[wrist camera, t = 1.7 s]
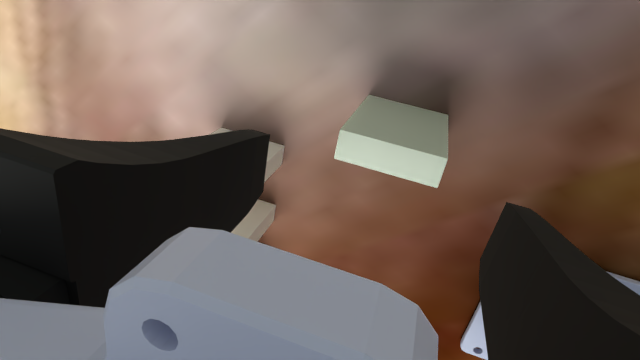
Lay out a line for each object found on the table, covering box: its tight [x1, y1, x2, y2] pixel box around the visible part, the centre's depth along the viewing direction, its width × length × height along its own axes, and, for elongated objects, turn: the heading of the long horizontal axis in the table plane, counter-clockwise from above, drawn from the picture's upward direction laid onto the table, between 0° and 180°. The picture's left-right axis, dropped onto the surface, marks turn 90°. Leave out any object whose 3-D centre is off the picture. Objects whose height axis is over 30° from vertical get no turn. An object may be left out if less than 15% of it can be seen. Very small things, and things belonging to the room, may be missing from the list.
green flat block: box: [334, 95, 448, 188], centre depth 17 cm, size 4×1×6 cm, turn 79°
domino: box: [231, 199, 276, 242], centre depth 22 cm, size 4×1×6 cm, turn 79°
